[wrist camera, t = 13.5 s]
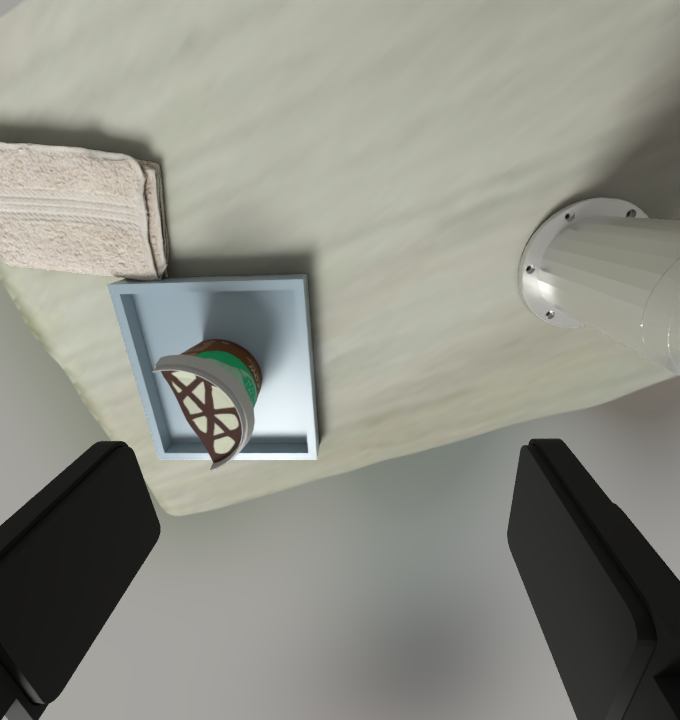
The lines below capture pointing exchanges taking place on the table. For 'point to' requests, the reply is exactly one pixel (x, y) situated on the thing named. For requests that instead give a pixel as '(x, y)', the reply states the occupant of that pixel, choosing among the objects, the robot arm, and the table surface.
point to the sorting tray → (236, 324)
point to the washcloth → (82, 212)
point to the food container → (216, 394)
